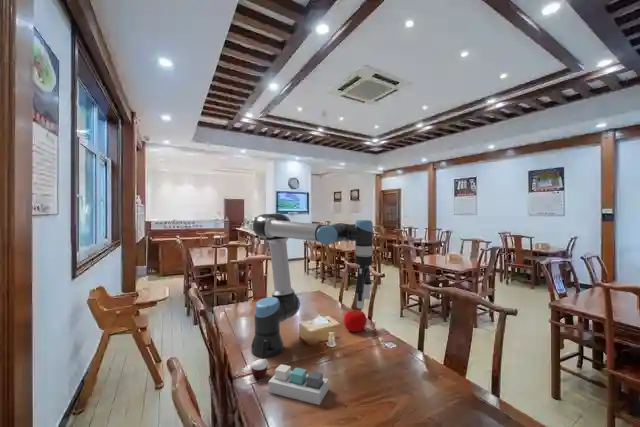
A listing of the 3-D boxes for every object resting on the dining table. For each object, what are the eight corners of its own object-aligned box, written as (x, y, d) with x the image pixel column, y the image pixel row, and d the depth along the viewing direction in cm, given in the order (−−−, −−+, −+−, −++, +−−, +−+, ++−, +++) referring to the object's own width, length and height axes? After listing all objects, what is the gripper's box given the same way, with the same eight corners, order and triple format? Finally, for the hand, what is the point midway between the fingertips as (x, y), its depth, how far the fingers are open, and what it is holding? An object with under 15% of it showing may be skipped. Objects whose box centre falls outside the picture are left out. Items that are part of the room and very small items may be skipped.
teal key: (290, 384, 110) (290, 373, 110) (295, 377, 114) (295, 367, 114) (301, 386, 108) (301, 375, 108) (306, 380, 113) (306, 369, 112)
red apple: (341, 333, 162) (340, 312, 162) (348, 324, 175) (348, 305, 174) (362, 336, 158) (362, 315, 158) (368, 327, 170) (368, 307, 170)
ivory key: (275, 380, 112) (274, 369, 112) (280, 374, 117) (280, 364, 117) (285, 383, 111) (285, 372, 111) (291, 376, 115) (290, 366, 115)
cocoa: (255, 383, 116) (255, 352, 116) (246, 377, 121) (245, 347, 120) (274, 372, 124) (274, 343, 123) (264, 367, 128) (264, 339, 127)
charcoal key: (306, 388, 108) (306, 377, 108) (311, 381, 112) (311, 370, 112) (318, 390, 106) (318, 379, 106) (322, 383, 110) (322, 373, 110)
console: (268, 392, 111) (268, 381, 111) (281, 378, 119) (280, 368, 119) (319, 405, 103) (319, 393, 103) (328, 389, 112) (328, 378, 112)
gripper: (366, 260, 120) (366, 313, 120) (377, 251, 143) (376, 296, 144) (348, 259, 122) (348, 311, 123) (361, 250, 146) (361, 294, 146)
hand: (363, 303), depth 133 cm, fingers open, 13 cm apart
